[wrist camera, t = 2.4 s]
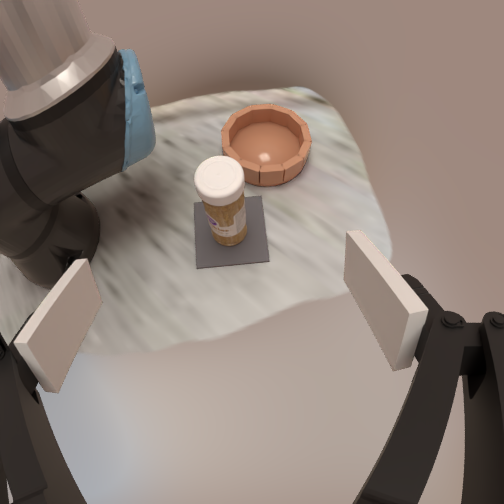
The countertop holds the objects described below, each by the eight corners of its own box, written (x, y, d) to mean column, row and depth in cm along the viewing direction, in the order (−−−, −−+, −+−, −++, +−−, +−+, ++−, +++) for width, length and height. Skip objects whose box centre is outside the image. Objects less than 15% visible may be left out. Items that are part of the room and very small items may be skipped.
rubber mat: (197, 268, 39) (196, 267, 39) (194, 203, 42) (193, 202, 41) (269, 261, 39) (269, 260, 39) (261, 196, 42) (261, 195, 42)
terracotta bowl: (226, 190, 42) (224, 175, 39) (222, 124, 46) (219, 108, 42) (313, 183, 42) (318, 168, 39) (298, 119, 46) (301, 102, 42)
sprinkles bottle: (205, 236, 40) (183, 183, 27) (223, 208, 41) (210, 146, 28) (236, 253, 39) (227, 205, 26) (254, 223, 40) (253, 165, 27)
